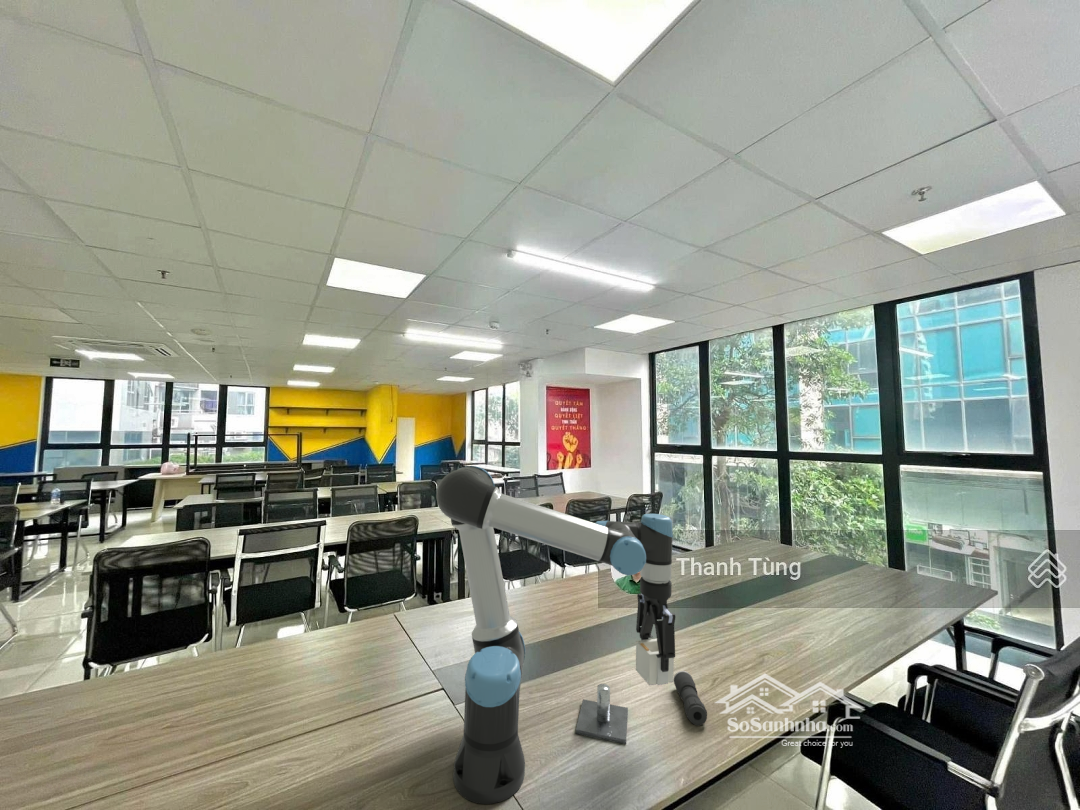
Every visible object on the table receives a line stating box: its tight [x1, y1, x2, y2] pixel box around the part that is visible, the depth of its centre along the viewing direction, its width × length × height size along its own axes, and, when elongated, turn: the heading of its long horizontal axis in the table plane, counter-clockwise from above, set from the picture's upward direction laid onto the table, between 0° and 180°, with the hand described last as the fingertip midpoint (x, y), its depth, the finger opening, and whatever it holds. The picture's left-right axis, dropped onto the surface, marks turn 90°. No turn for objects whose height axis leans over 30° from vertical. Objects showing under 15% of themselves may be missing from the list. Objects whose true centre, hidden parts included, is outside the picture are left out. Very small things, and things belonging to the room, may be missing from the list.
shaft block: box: [575, 683, 629, 745], centre depth 106 cm, size 12×12×8 cm
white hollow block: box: [635, 638, 675, 686], centre depth 102 cm, size 6×6×7 cm
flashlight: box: [673, 670, 708, 726], centre depth 113 cm, size 15×5×5 cm, turn 175°
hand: (653, 674), depth 102 cm, fingers closed on white hollow block, 6 cm apart
